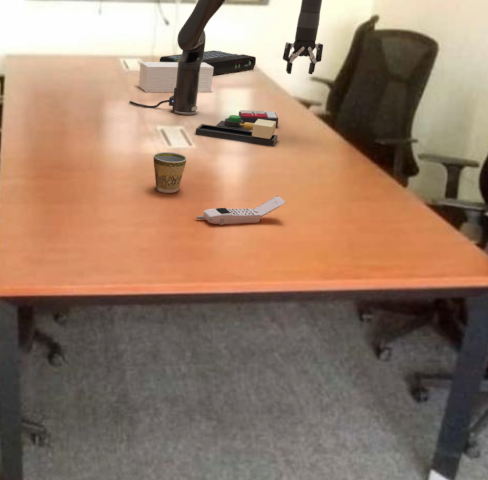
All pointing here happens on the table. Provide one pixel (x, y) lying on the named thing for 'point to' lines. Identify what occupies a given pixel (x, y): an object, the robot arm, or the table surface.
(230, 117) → the button
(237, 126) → the button box
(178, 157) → the ceramic cup
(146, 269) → the table surface
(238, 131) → the rail
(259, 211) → the mobile phone
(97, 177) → the table surface
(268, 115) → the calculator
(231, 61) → the computer keyboard
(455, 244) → the table surface
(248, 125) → the nozzle carriage
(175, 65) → the stack of papers
